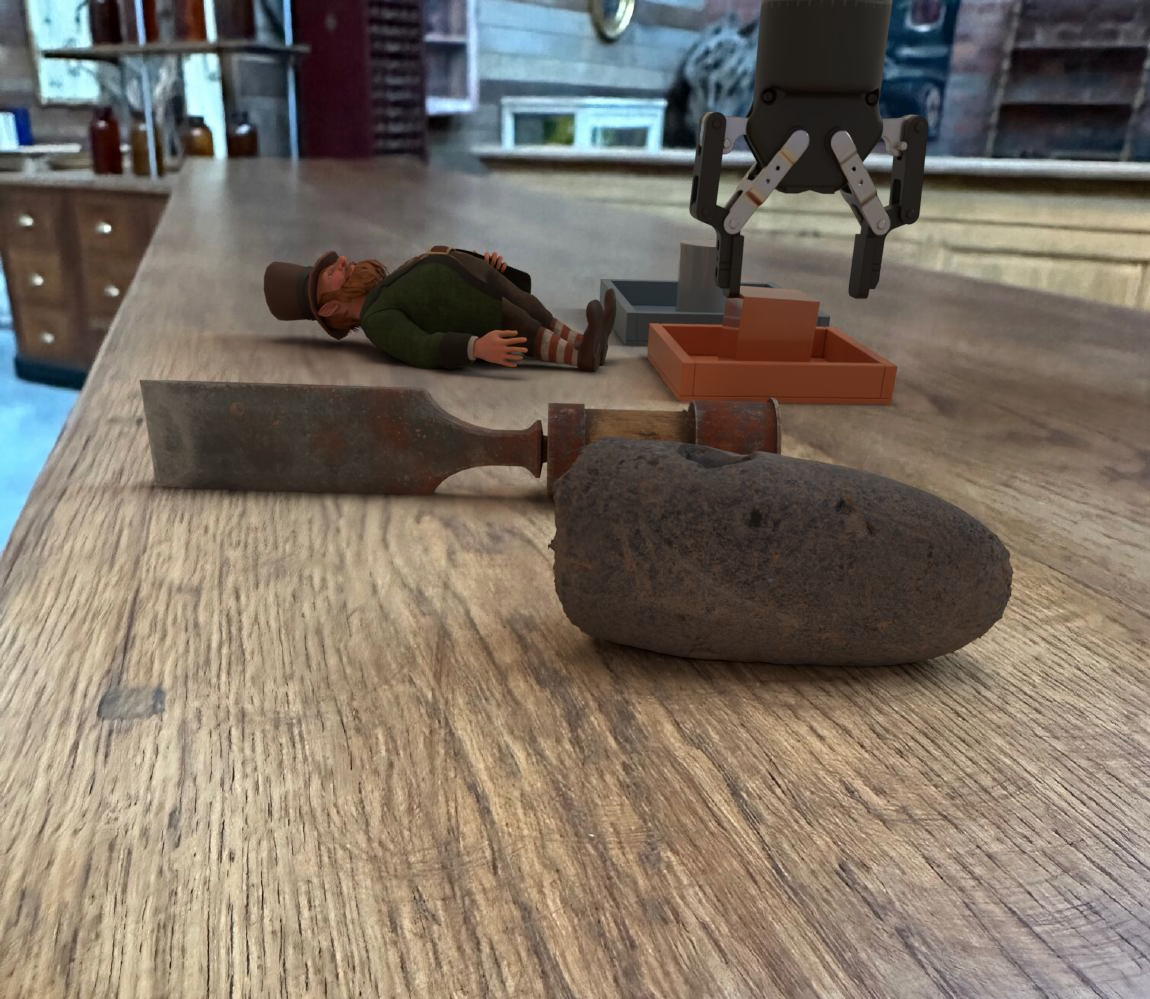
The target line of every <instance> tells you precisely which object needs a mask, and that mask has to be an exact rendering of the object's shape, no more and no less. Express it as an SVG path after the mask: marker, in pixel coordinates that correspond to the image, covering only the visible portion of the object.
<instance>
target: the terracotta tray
mask: <svg viewBox="0 0 1150 999" xmlns="http://www.w3.org/2000/svg"><path fill="white" fill-rule="evenodd" d="M721 332H722V325H708V324H659V323H650V324H649V337H648V346H647V355H646V358H647V359H648V361H649V362H650V363H651V365H652V366H653V367H654V369H655V371H656V372H657V373H658V375H659V376H660V378H662V380H663V381H664V383H665V384H666V385H667V387H668V388H669V389H670V391H671V392H672V394H673V395H674V397H675V398H676V400H678V402H679V403H681V402H682V403H690V402H691V400H709V401H743V402H766V401H767V400H768V399H769V398H775V399H776V400H777V402H778V404H820V405H821V404H825V405H827V404H830V405H834V404H836V405H892V403H893V402H892V401H893V396H894V395H893V394H894V389H895V384H896V378H897V372H898V365H896V364H895V363H893V362H891V361H890V360H888V359H887V358H885V357H883V356H882V355H881V354H879V353H877V352H876V351H874V350H872V349H871V348H869V347H867V346H866V345H864V344H863V343H861V342H860V341H858V340H857V339H854V338H853V337H851V336H850V335H848V334H846V333H845V332H843V331H841V330H840V329H839V328H837V327H835V326H829V327H816V329H815V334H814V340H813V346H812V351H811V357H810V362H770V361H718V354H719V346H720V339H721Z"/></svg>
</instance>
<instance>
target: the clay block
mask: <svg viewBox="0 0 1150 999" xmlns="http://www.w3.org/2000/svg"><path fill="white" fill-rule="evenodd" d="M820 305H821V301H819V300H817V299H816V298H814V297H812V296H810V295H809V294H807V293H805V292H804V291H801V290H800V289H792V288H791V289H789V288H783V289H778V288H764V287H750V286H740V294H739V298H726V302H725V310H724V317H723V324H722V332H721V339H720V346H719V354H718V361H770V362H810V357H811V351H812V346H813V340H814V334H815V329H816V323H817V317H818V312H819V310H820Z"/></svg>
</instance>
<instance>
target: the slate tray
mask: <svg viewBox="0 0 1150 999" xmlns="http://www.w3.org/2000/svg"><path fill="white" fill-rule="evenodd" d="M599 283H600V284H599V302H600V303H601V305H602V308H603V311H604V296H605V293H606V291H607V290H608V289H610V288H613V289H614V291H615V296H616V317H615V322H614V326H613V330H614V331H615V332H616V335H617V336H618V337H619V339H620V340H621V341H622V343H623V344H624V346H633V347H634V346H637V347H639V346H641V347H648V337H649V324H650V323H659V324H708V325H722V324H723V317H724V313H709V312H675V305H676V292H677V280H670V279H669V280H668V279H630V278H629V279H627V278H625V279H624V278H622V279H621V278H600V280H599ZM740 286H750V287H764V288H778V289H784V287H781V286H780V285H779V284H776V283H775V282H760V281H759V282H756V281H755V282H754V281H750V282H749V281H741V284H740ZM830 322H831V316H830V315H829V314H827V313H825V312H824V311H822V310H820V309H819V312H818V317H817V323H816V327H830Z"/></svg>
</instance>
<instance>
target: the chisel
mask: <svg viewBox="0 0 1150 999" xmlns="http://www.w3.org/2000/svg"><path fill="white" fill-rule="evenodd" d="M139 386H140V387H139V388H140V392H141V399H142V405H143V411H144V418H145V423H146V429H147V435H148V443H149V450H150V455H151V462H152V467H153V474H154V480H155V485H156V486H159V487H168V488H169V487H170V488H181V489H182V488H183V489H196V490H231V491H232V490H235V491H270V492H303V493H304V492H310V493H345V494H347V493H348V494H383V495H384V494H386V495H423V496H429V495H430V496H431V495H434V493H435V491H436V490H437V488H438V487H439V486H440V485H441V484H442V483H443V482H444V481H445V480H447V479H448V478H449V477H451V476H453V475H457V474H458V473H460V472H463V471H465V470H469V469H473V468H474V469H475V468H480V467H491V466H493V467H494V466H496V467H519V468H523V469H526V470H527V471H529V472H530V473H531V474H532V475H533V477H534V478H536V479H540V478H541V476H542V471H543V467H544V466H543V465H544V464H546V495H553V496H554V492H553V485H554V483H555V481H556V480H557V479H559V478H560V477H561V476H562V475H563V474H564V473H566V472H567V471H568V470H569V469H570V467H571V465H572V464H573V463H574V462H575V460H576V459H577V458H578V455H579V454H580V452H581V451H582V450H583V448H584V447H585V446H587V445H589V444H592V443H594V441H596V440H598V439H601V438H602V437H619V438H635V439H642V440H656V441H674V442H680V443H686V444H695V445H701V446H708V447H712V448H716V449H720V450H723V451H729V452H733V453H737V454H740V455H749V454H752V453H753V452H755V451H762V452H768V453H774V454H779V455H782V439H783V438H782V436H783V434H782V433H783V432H782V431H783V430H782V415H781V409H780V405H779V404H780V403H778V402H777V400H776V399H775V398H769V399H768V400H767V401H766V402H743V401H709V400H691V402H689V404H688V406H687V409H682V411H681V410H680V411H678V410H651V409H649V410H648V409H647V410H646V409H610V408H586V406H585V403H573V402H572V403H571V402H570V403H569V402H568V403H567V402H563V403H562V402H548V403H547V435H545V434H544V429H543V423H542V419H536V420H535V421H534V422H533V423H532V425H530V426H529V427H527V428H525V429H493V428H489V427H484V426H480V425H476V424H473V423H471V422H468V421H466V420H462V419H461V418H459V417H456V416H455V415H453V414H451V413H449V412H448V411H446V410H445V409H444V408H443V407H441V405H440V404H439V403H438V402H437V401H436V400H435V398H434V397H433V395H432V394H431V392H430V391H429V390H428V388H427V387H414V386H413V387H411V386H410V387H409V386H408V387H407V386H381V385H379V386H377V385H349V384H347V385H346V384H345V385H344V384H314V383H313V384H309V383H281V382H279V383H274V382H247V381H246V382H243V381H211V380H178V379H177V380H175V379H173V380H172V379H139Z"/></svg>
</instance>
